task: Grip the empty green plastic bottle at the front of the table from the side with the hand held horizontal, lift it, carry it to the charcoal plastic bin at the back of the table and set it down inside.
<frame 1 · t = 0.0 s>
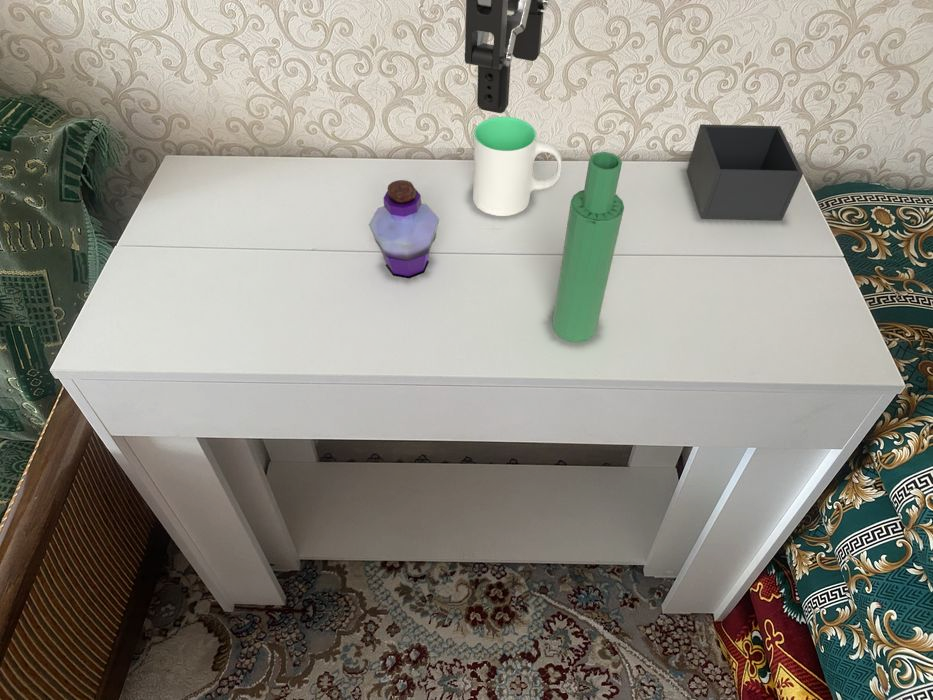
hand: (509, 82, 54), 33 cm above the table, tool pointing down, fingers open, 8 cm apart
bin: (732, 195, 98), on the table
potion bottle: (407, 264, 89), on the table
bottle: (574, 325, 82), on the table
mug: (515, 199, 98), on the table
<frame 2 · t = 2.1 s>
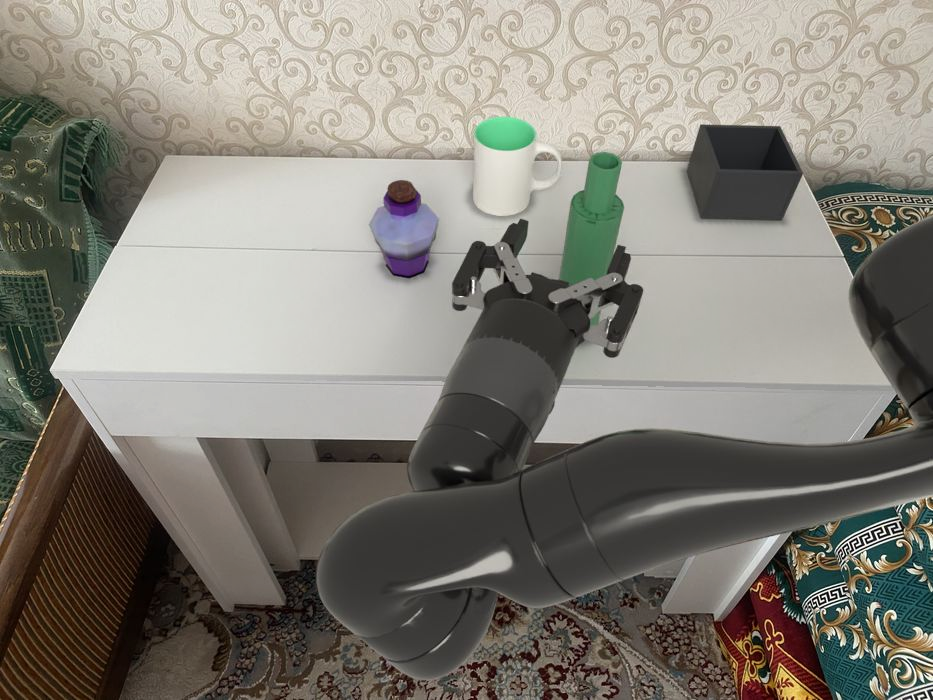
hand: (571, 240, 58), 22 cm above the table, tool horizontal, fingers open, 8 cm apart
nothing on the table moved.
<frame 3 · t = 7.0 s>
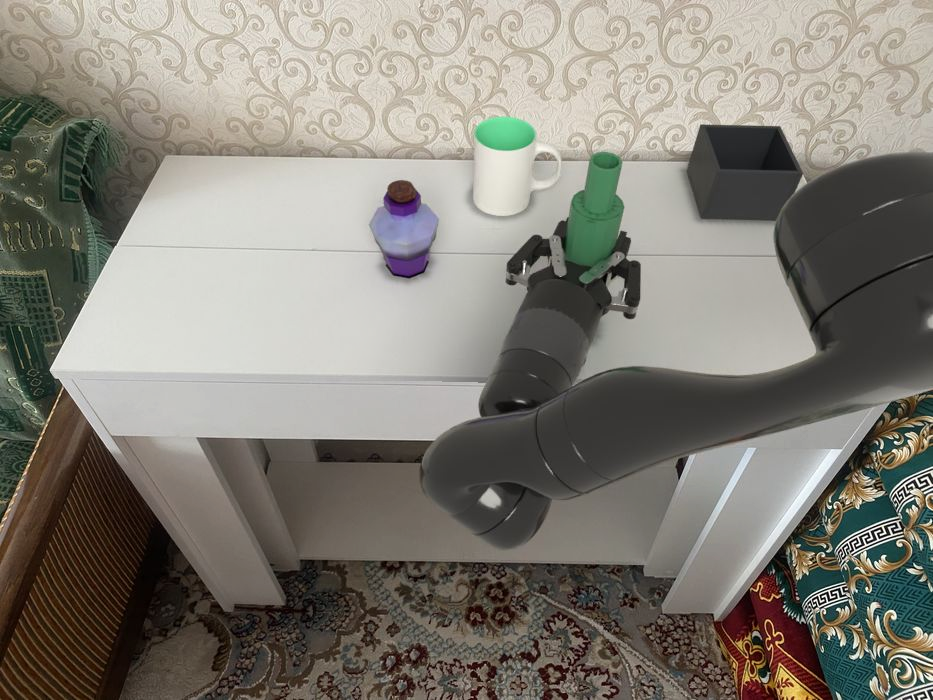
hand: (595, 230, 74), 13 cm above the table, tool horizontal, fingers closed on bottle, 5 cm apart
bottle: (574, 325, 82), on the table, touching gripper
everything else where it was.
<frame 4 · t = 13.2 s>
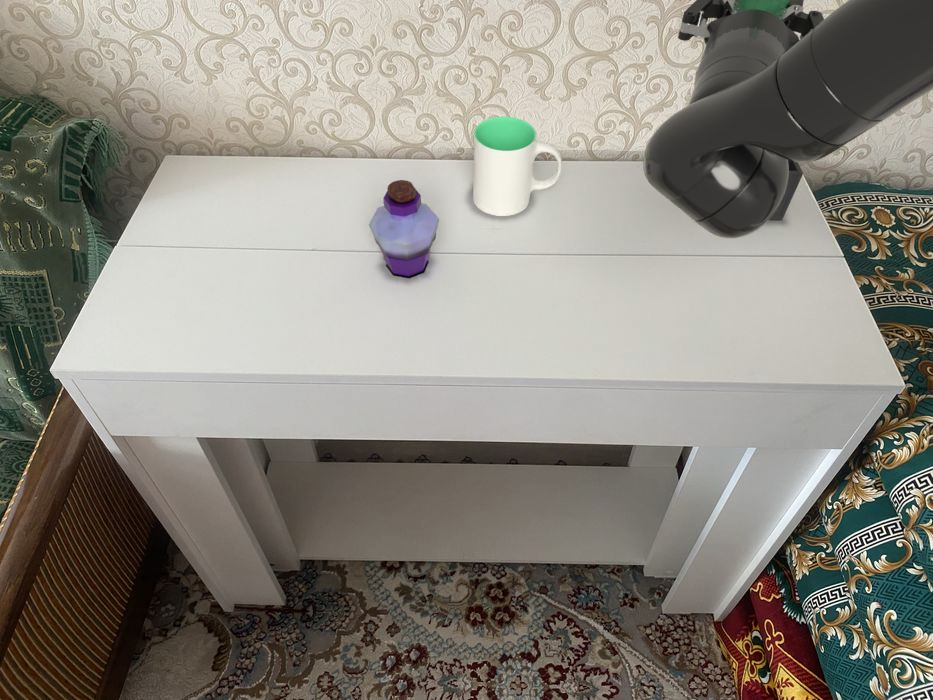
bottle: (723, 118, 80), point 17 cm above the table, touching gripper
everything else where it was.
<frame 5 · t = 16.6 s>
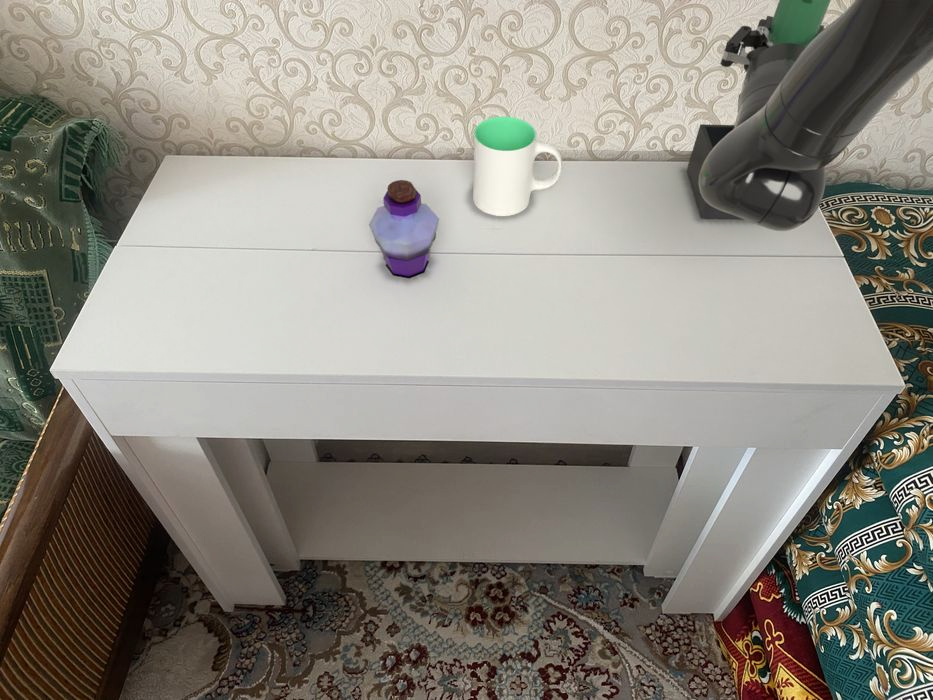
hand: (791, 28, 83), 23 cm above the table, tool horizontal, fingers closed on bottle, 5 cm apart
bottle: (754, 132, 91), point 10 cm above the table, touching gripper
everything else where it was.
when the fingers open (13 cm above the table, at t = 19.6 s): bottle stays where it is, resting on bin.
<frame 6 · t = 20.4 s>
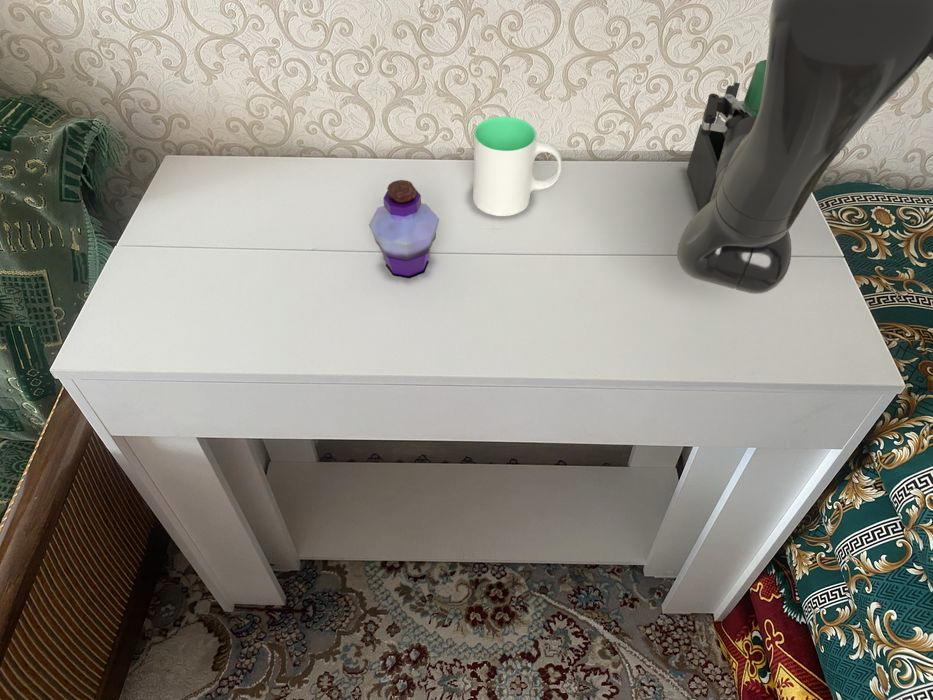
hand: (768, 95, 89), 14 cm above the table, tool horizontal, fingers open, 8 cm apart
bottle: (733, 190, 98), point 1 cm above the table, touching bin
everything else where it was.
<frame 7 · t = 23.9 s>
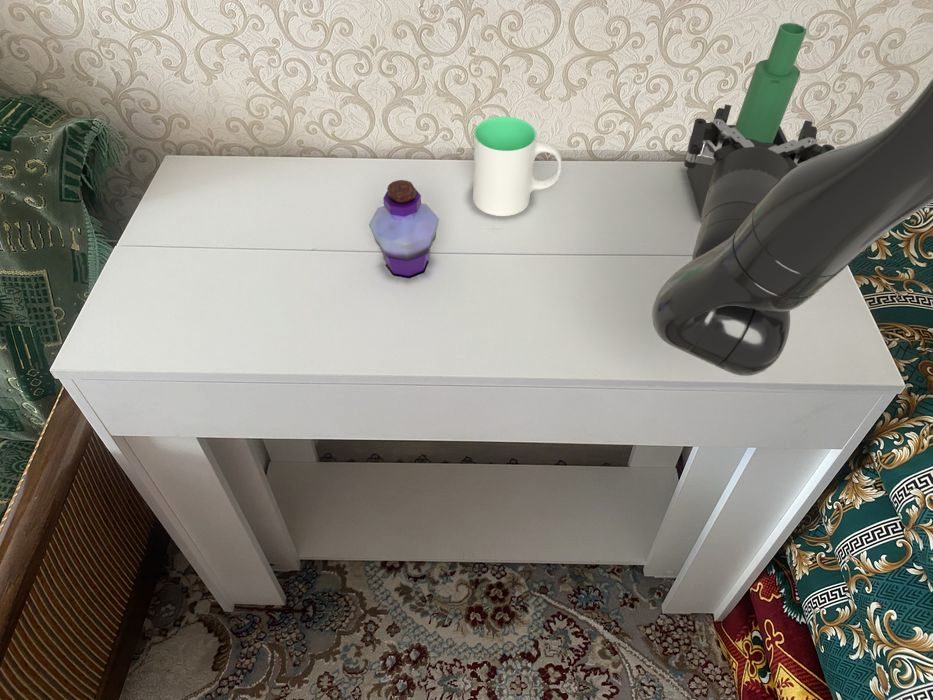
hand: (764, 120, 76), 19 cm above the table, tool horizontal, fingers open, 8 cm apart
nothing on the table moved.
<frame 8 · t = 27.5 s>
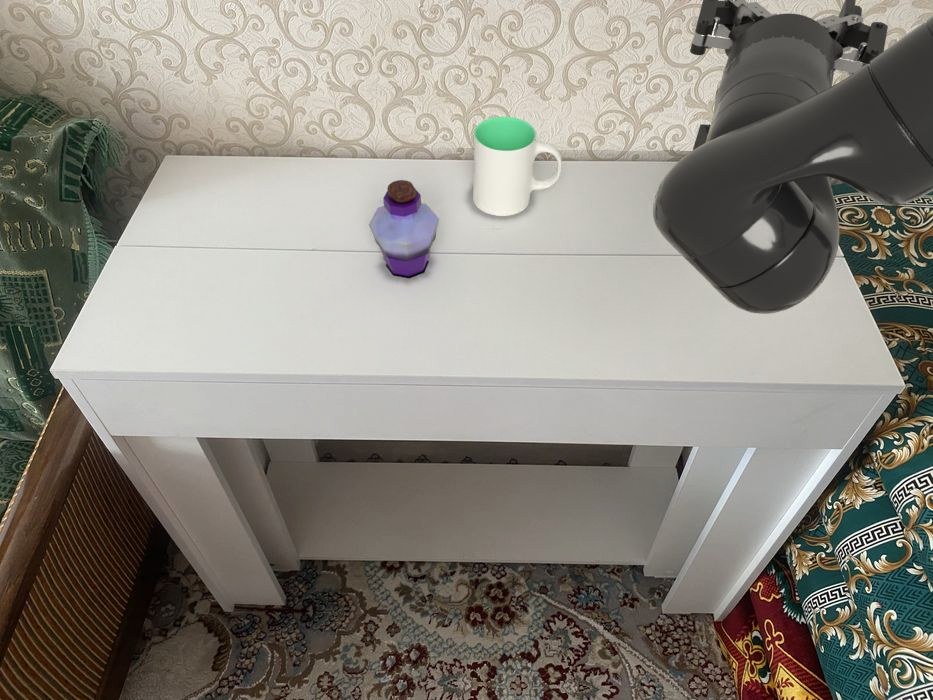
hand: (793, 1, 59), 35 cm above the table, tool horizontal, fingers open, 8 cm apart
nothing on the table moved.
at the end: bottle inside the target area in the bin (0.1 cm from its centre), point 0.8 cm above the bin's base; the gripper is holding nothing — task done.
